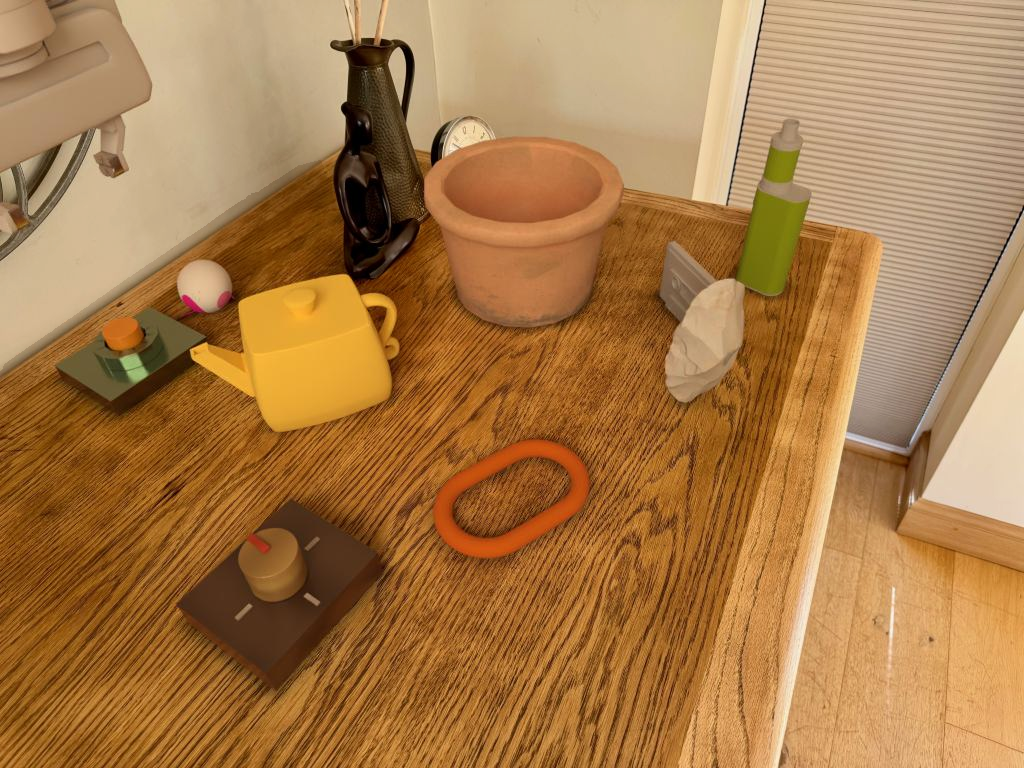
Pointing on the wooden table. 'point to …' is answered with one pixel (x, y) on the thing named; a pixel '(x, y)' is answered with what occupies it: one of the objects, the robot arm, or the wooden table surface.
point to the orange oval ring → (529, 528)
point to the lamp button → (122, 333)
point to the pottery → (523, 225)
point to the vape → (775, 216)
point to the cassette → (681, 280)
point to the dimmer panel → (296, 620)
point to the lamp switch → (132, 362)
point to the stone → (706, 340)
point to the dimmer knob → (273, 564)
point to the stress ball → (204, 286)
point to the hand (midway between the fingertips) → (68, 199)
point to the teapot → (309, 352)
